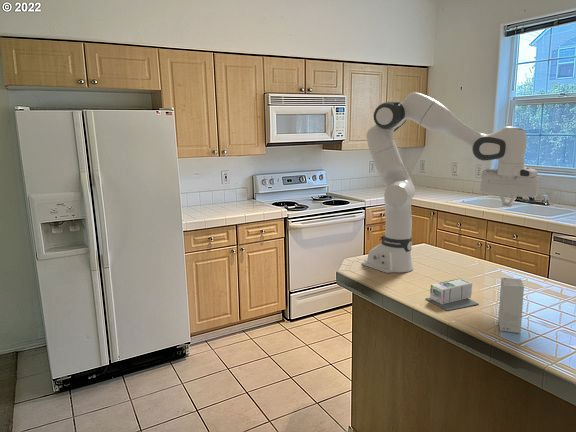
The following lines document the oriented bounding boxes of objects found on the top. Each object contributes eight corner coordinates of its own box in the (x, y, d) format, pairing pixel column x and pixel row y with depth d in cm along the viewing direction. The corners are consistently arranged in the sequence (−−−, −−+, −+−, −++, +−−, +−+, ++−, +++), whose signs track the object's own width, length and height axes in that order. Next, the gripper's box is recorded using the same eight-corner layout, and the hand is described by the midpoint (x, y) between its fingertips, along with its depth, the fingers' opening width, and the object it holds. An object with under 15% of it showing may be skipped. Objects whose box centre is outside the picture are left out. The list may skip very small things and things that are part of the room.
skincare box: (520, 334, 131) (526, 287, 128) (498, 331, 133) (503, 285, 130) (517, 322, 139) (522, 278, 136) (496, 319, 141) (500, 276, 138)
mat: (425, 299, 158) (425, 298, 157) (456, 293, 163) (456, 292, 163) (446, 311, 148) (446, 309, 147) (478, 304, 153) (478, 303, 153)
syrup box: (472, 282, 156) (442, 288, 150) (471, 298, 158) (441, 304, 151) (460, 278, 162) (430, 283, 155) (459, 293, 163) (429, 299, 157)
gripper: (478, 169, 169) (476, 204, 171) (537, 172, 155) (533, 210, 158) (484, 168, 173) (481, 202, 176) (542, 171, 159) (538, 208, 162)
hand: (506, 206), depth 167 cm, fingers closed
